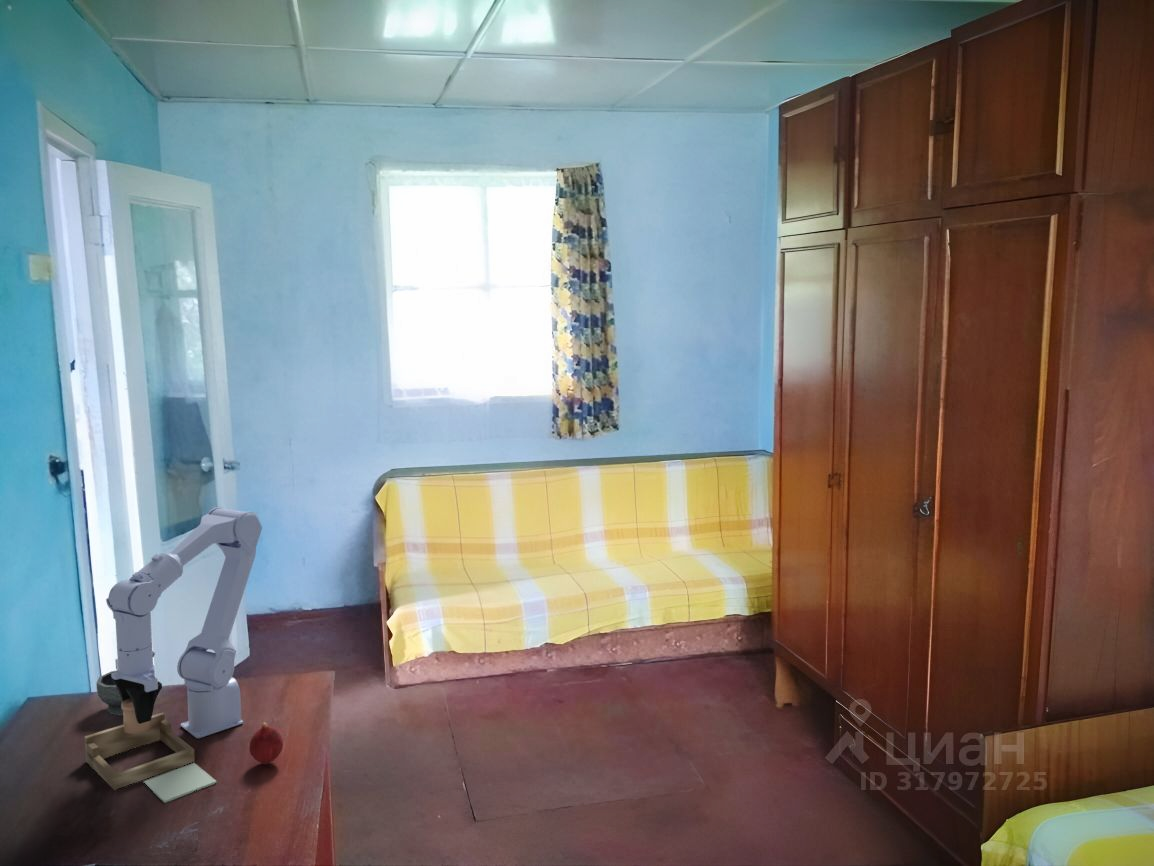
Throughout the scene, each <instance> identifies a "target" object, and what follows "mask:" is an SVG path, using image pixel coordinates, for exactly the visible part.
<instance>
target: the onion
mask: <svg viewBox="0 0 1154 866" xmlns="http://www.w3.org/2000/svg"><path fill="white" fill-rule="evenodd" d="M283 746H284V741H283V738H282V735H281V733H280V732H279V731H278V730H277V729H276V728H274V727H271V726H270V725H269V724H268V723H267V722H266V721H265V722H263V723H262V725H261V728H259V729H258V730H256V732H255V733H254V734H253V735H252V737H251V739H250V741H249V753H250V755H251V756H252V757H253V759H254V760H255V761H256V762H259V763H260V764H263V765H266V764H267V765H269V764H270V763H272V762H274V761H275V760H276V759H277V758H279V755H280V754H281V753H282V750H283Z"/></svg>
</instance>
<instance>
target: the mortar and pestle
mask: <svg viewBox="0 0 1154 866" xmlns="http://www.w3.org/2000/svg"><path fill="white" fill-rule="evenodd" d="M155 654H156V652H155V651H153V658H154V657H155ZM114 672H117V669H115V670H111V671H109V672H107V673H105V674H103V675H100V676H99V677H98V679H97V681H96V683H95V684H96V691H97V695H98V697H99V699H100V700H101V701H102V702H103V703H104V704H106V705H108V708H107V713H108V712H109V713H108V714H110V713H111V714H110V715H112V714H113V715H112V716H119V715H118V714H123V710H122V709H121V703H122V699H121V696H120V693H119V691H118V689H117V687H116V685H115V684H114V682H113V681H112V677H111V674H112V673H114Z"/></svg>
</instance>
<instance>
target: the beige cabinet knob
mask: <svg viewBox="0 0 1154 866" xmlns="http://www.w3.org/2000/svg"><path fill="white" fill-rule="evenodd" d="M121 709H122V710H123V715H122V716H123V718H122V719H123V721H122V722H123V724H124V732H126V733H130V734H133V733H141V732H144V731H147V730H149V729H150V728H151V727H152V719H151V720H150V721H148V722H144V723H141V724H139V723H138V722H137V719H136V715H135V710H134V705H133V702H132V700H131V698H130V699H127V700H125V701H123V702H122V703H121Z"/></svg>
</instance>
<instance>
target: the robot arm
mask: <svg viewBox="0 0 1154 866" xmlns="http://www.w3.org/2000/svg"><path fill="white" fill-rule="evenodd" d="M262 529H263V526H262V523H261V521H260V519H259V517H258V516H257V514H256V513H254V512H252V511H242V510H236V509H235V510H234V509H229V508H224V507H217V506H216V507H213V508H211V509H210V510H209V511H208V512H207V513H206V514H204V515H202V516H201V518H200V524H199V525H198V526H197V527H196V528H195V529H194V530H193V531H192V532H191V533H189V534H188V535H187V536H186V538H184V539H183V540H182V541H181V542H180V543H179V544H178V545H176V547H175V548H174V549H173V550H172V551H171V552H170V553H168V552H161V553H159V554H156V553H155V555H153V556H152V557H151V560H150V561H149V562H147V564H145V565H144V566H143V567H142V568H141V569H139V570H138V571H136V572H133V574H132V575H131V577H130V578H129V579H123V580H120V581H118V582H117V583H115V584H114V585H113V586H112V587H111V589H110V591H109V593H108V597H107V598H106V599H105V601H106V602H105V603H106V605H107V607H108V609H110V610H111V612H112V617H113V619H114V620H115V635H116V651H117V652H116V653H117V654H116V655H117V658H115V660H114V661H115V670H117V672H114V673H112V674H111V677H112V681H113V682H114V684H115V685H116V687H117V689H118V691H119V693H120V696H121V699H122V702H123V701H125V700H127V699H130V698H131V700H132V702H133V705H134V710H135V715H136V719H137V722H138V723H139V724H141V723H144V722H148V721H150V720H151V718H152V715H153V714H154V713H153V712H154V709H155V705H156V700H157V698H158V696H159V693H160V692H161V690H162V688H163V683H161V682H160V681H158V678H157V677H156V669H155V665H154V657H153V652H154V651H153V639H152V638H153V635H152V616H151V615H152V613H151V612H153V610H154V609H155V608H156V606H157V603H158V600H159V599H160V597H161V596H162V594H163V592H165V591H166V590H167V589H168V588H169V587H170V586H171V585H172V584H174V583H175V582H176V581H177V580H178V579H180V578H181V577H182V576H183V573H184V566H185V565H187V564H188V563H189V562H191V561H192V560H194V559H195V558H196V557H197V556H199V555H200V554H201V553H203V552H204V551H205V550H207V549H209V548H210V547H211V546H212V545H214V544H216V546H218V548H219V549H221V551H222V553H223V555H224V557H225V558H224V561H223V565H222V568H221V570H220V574H219V575H218V576H219V577H218V581H217V583H216V586H215V589H214V592H213V596H212V599H211V602H210V604H209V607H208V611H207V614H206V617H205V620H204V622H203V626H202V629H201V632H200V633H199V634H197V635H196V636H195V637H194V636H193V638H191V639H190V640H188V643H187V646H186V648H185V650H184V652H183V653H182V654H181V655H180V657H179V659H178V661H177V667H176V668H177V669H176V670H177V674H178V675H179V677H180V678H181V679H183V680H184V685H185V686H186V691H187V692H186V694H187V715H188V716H187V717H188V720H187V721H184V722H181V724H180V727H182V728H183V729H184V730H185V731H187V732H188V733H189V734H191V736H193V737H195V738H196V739H201V738H204V737H206V736H210V735H213V734H216V733H218V732H219V733H220V732H222V731H225V730H228V729H230V728H233V727H236V726H240V725H242V724H243V723H244V720H243V719H242V704H241V703H242V701H241V700H242V699H241V690H240V685H239V683H238V680H237V679H236V678H235V677H233V675H234V672H235V658H236V654H237V650H236V648H235V646H234V645H233V643H232V642H231V640H230V637H231V633H232V630H233V628H234V624H235V621H236V618H237V615H238V611H239V608H240V605H241V601H242V599H243V596H244V592H245V590H246V586H247V584H248V579H249V577H250V573H251V570H252V568H253V564H254V561H255V558H256V554H257V546H258V542H259V540H260V536H261V533H262ZM208 650H212V651H214V652H212V651H208Z"/></svg>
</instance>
